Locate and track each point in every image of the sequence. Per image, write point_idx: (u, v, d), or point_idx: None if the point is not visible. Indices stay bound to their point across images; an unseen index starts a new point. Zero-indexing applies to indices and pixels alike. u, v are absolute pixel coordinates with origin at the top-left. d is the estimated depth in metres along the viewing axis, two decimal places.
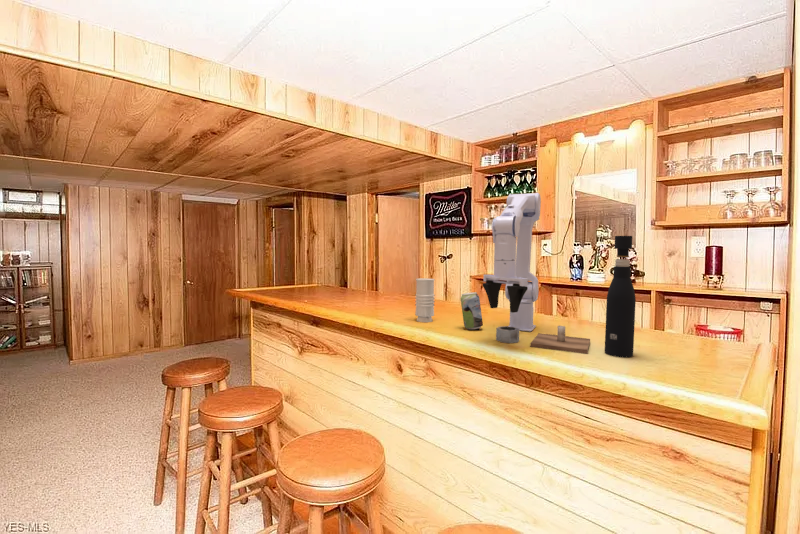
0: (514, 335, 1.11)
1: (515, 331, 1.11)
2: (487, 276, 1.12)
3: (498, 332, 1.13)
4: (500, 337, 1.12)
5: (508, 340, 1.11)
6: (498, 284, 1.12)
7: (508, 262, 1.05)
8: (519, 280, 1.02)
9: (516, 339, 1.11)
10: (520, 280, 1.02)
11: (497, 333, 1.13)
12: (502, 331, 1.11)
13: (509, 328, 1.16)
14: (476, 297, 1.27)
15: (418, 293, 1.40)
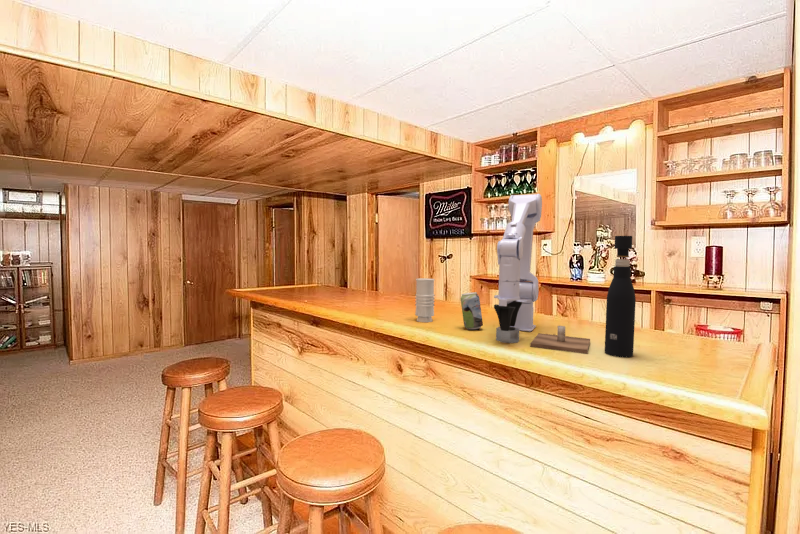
0: (514, 335, 1.11)
1: (515, 331, 1.11)
2: None
3: (498, 332, 1.13)
4: (500, 337, 1.12)
5: (508, 340, 1.11)
6: (516, 304, 1.16)
7: (502, 282, 1.11)
8: None
9: (516, 339, 1.11)
10: None
11: (497, 333, 1.13)
12: (502, 331, 1.11)
13: (509, 328, 1.16)
14: (476, 297, 1.27)
15: (418, 293, 1.40)
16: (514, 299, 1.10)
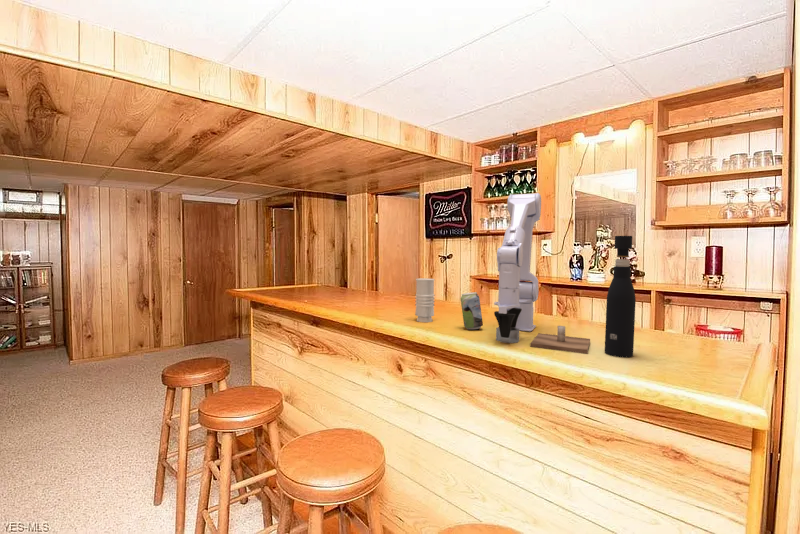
0: (514, 335, 1.11)
1: (515, 331, 1.11)
2: None
3: (498, 332, 1.13)
4: (500, 337, 1.12)
5: (508, 340, 1.11)
6: (515, 311, 1.16)
7: (502, 289, 1.11)
8: (499, 307, 1.08)
9: (516, 339, 1.11)
10: None
11: (497, 333, 1.13)
12: None
13: None
14: (476, 297, 1.27)
15: (418, 293, 1.40)
16: (514, 306, 1.10)
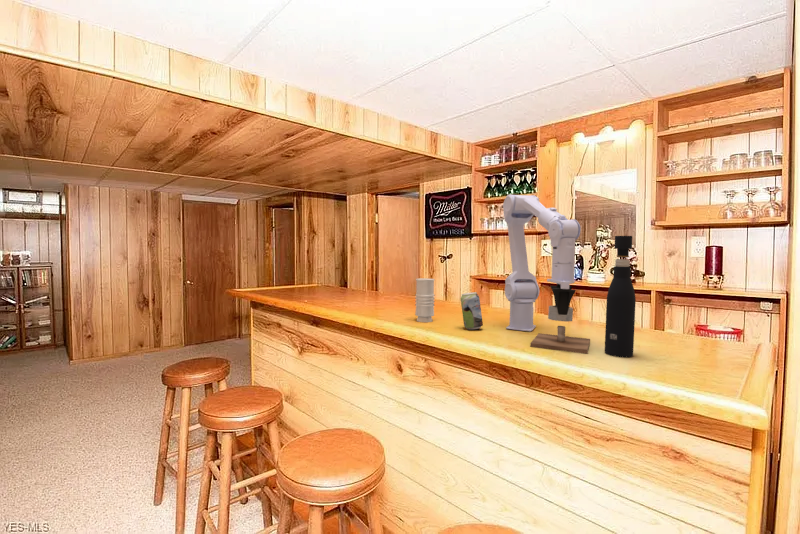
0: (570, 313, 1.07)
1: (571, 309, 1.07)
2: None
3: (552, 311, 1.08)
4: (555, 315, 1.07)
5: (564, 318, 1.06)
6: None
7: (559, 265, 1.07)
8: (560, 283, 1.03)
9: (571, 317, 1.07)
10: (560, 283, 1.03)
11: (551, 312, 1.09)
12: None
13: None
14: (476, 297, 1.27)
15: (418, 293, 1.40)
16: (572, 282, 1.06)
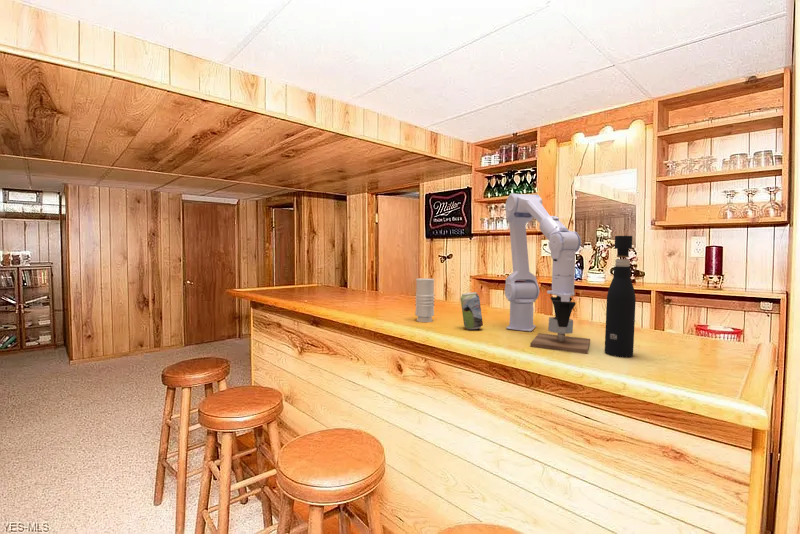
0: (570, 325, 1.07)
1: (571, 321, 1.07)
2: None
3: (552, 323, 1.08)
4: (556, 327, 1.07)
5: (565, 330, 1.07)
6: None
7: (559, 277, 1.07)
8: (560, 295, 1.03)
9: (571, 330, 1.08)
10: (561, 295, 1.03)
11: (551, 324, 1.09)
12: None
13: None
14: (476, 297, 1.27)
15: (418, 293, 1.40)
16: (572, 294, 1.06)
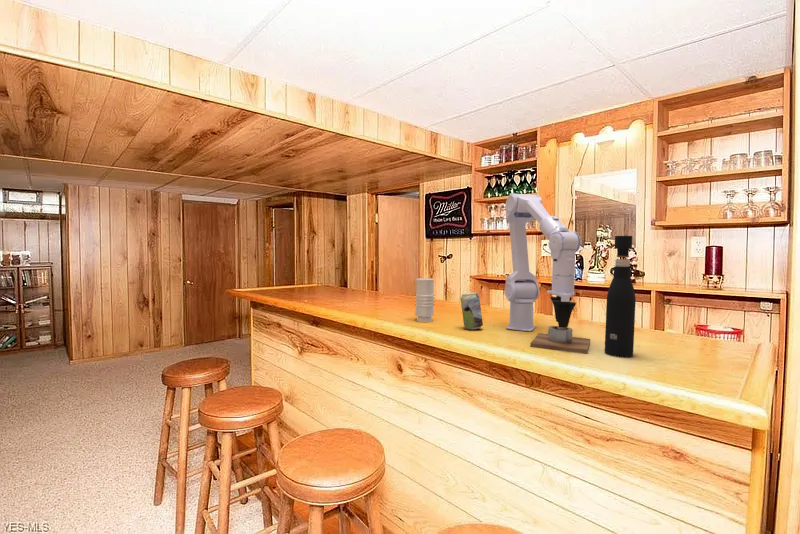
0: (569, 335, 1.07)
1: (570, 331, 1.07)
2: None
3: (551, 333, 1.09)
4: (555, 337, 1.08)
5: (564, 340, 1.07)
6: None
7: (559, 277, 1.07)
8: (560, 295, 1.03)
9: (571, 339, 1.08)
10: (561, 295, 1.03)
11: (550, 333, 1.09)
12: (557, 331, 1.07)
13: None
14: (476, 297, 1.27)
15: (418, 293, 1.40)
16: (572, 294, 1.06)
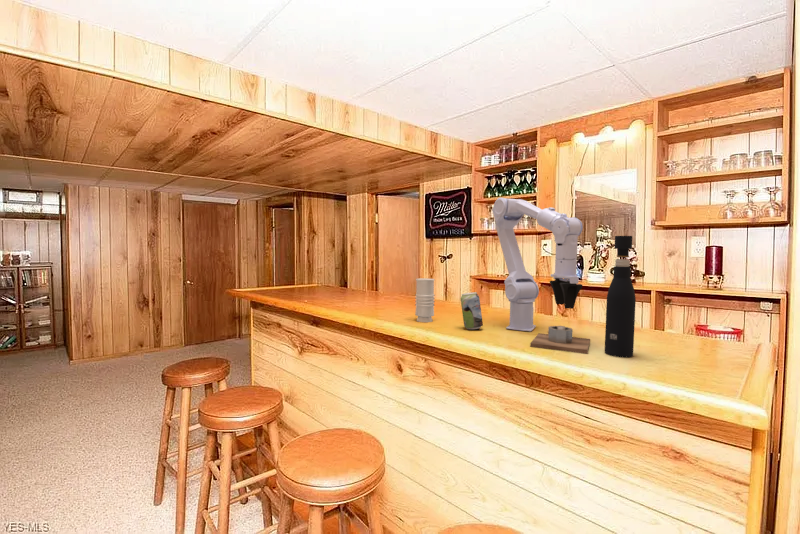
0: (569, 335, 1.07)
1: (570, 331, 1.07)
2: None
3: (551, 333, 1.09)
4: (555, 337, 1.08)
5: (564, 340, 1.07)
6: (565, 282, 1.18)
7: (564, 261, 1.11)
8: (569, 278, 1.08)
9: (571, 339, 1.08)
10: (570, 278, 1.08)
11: (550, 333, 1.09)
12: (557, 331, 1.07)
13: None
14: (476, 297, 1.27)
15: (418, 293, 1.40)
16: None
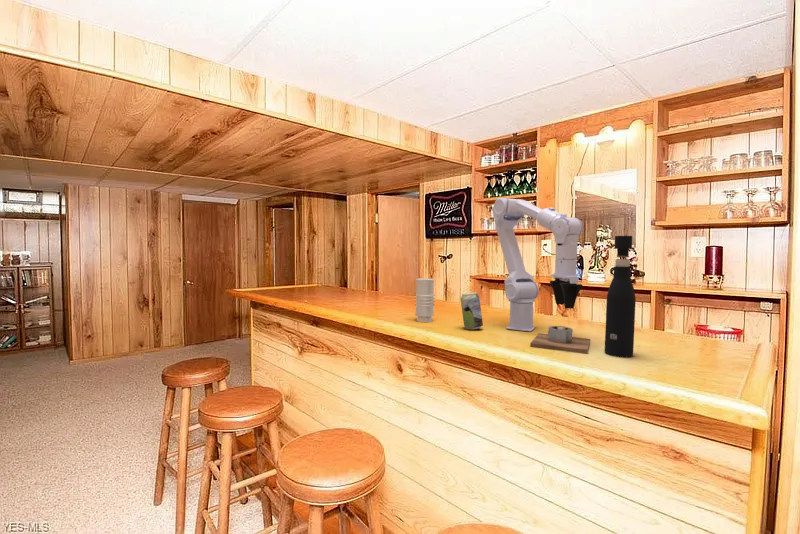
0: (569, 335, 1.07)
1: (570, 331, 1.07)
2: None
3: (551, 333, 1.09)
4: (555, 337, 1.08)
5: (564, 340, 1.07)
6: (565, 282, 1.18)
7: (564, 261, 1.11)
8: (569, 278, 1.08)
9: (571, 339, 1.08)
10: (570, 278, 1.08)
11: (550, 333, 1.09)
12: (557, 331, 1.07)
13: None
14: (476, 297, 1.27)
15: (418, 293, 1.40)
16: None
